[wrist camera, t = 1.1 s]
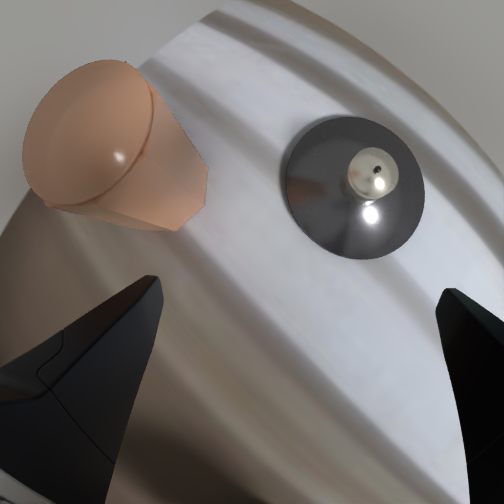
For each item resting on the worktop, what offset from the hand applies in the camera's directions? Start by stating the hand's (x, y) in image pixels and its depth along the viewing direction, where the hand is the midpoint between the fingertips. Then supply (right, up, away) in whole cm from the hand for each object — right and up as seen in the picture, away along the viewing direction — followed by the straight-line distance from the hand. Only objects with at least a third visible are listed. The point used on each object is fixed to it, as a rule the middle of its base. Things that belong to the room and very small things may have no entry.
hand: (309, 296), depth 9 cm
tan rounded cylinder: (-9, +6, +14) cm, 18 cm away
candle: (+6, +6, +13) cm, 16 cm away
